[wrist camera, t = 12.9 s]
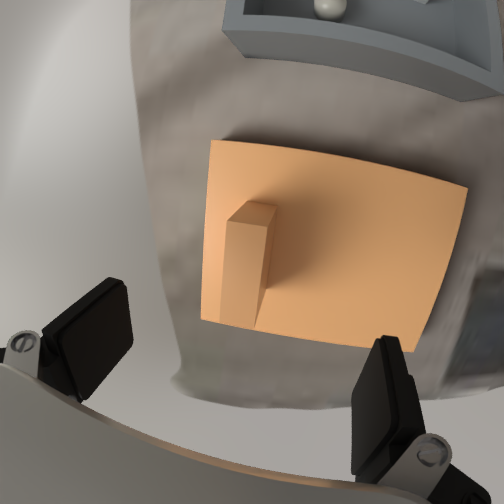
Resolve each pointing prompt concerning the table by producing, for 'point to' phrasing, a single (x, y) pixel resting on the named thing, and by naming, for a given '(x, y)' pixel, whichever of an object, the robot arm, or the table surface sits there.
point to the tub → (380, 39)
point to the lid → (324, 244)
